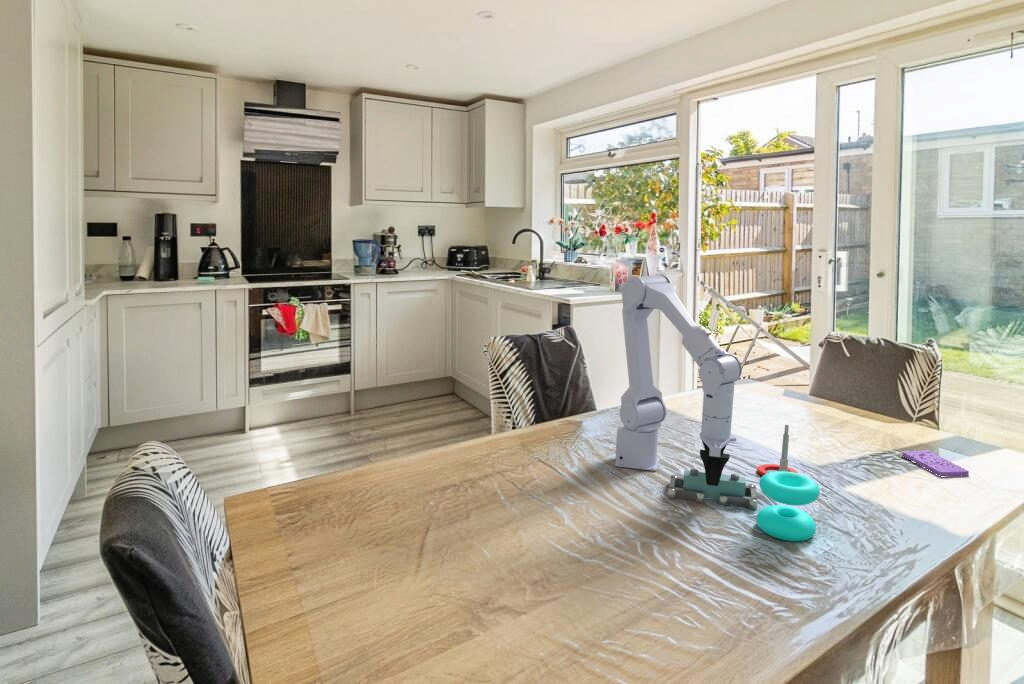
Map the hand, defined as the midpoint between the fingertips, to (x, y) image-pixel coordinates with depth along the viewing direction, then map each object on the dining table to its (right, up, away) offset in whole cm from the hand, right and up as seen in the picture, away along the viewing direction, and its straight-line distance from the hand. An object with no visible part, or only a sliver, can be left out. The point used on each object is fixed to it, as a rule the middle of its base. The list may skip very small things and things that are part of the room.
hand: (712, 477), depth 127 cm
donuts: (+9, -7, -14) cm, 18 cm away
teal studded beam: (0, -4, +1) cm, 4 cm away
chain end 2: (+5, -4, -1) cm, 6 cm away
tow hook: (+18, -2, +11) cm, 22 cm away
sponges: (+57, -2, +16) cm, 59 cm away
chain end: (-5, -4, +2) cm, 6 cm away
